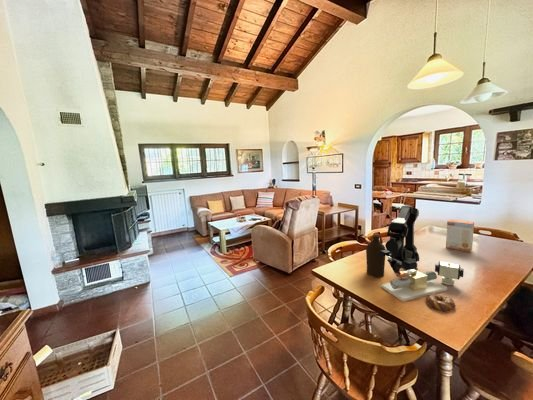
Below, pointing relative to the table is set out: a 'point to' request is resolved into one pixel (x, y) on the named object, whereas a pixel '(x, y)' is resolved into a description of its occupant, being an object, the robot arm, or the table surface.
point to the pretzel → (440, 302)
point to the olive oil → (375, 257)
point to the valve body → (414, 280)
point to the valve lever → (405, 273)
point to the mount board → (409, 294)
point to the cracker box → (459, 235)
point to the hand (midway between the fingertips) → (396, 274)
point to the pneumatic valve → (449, 272)
